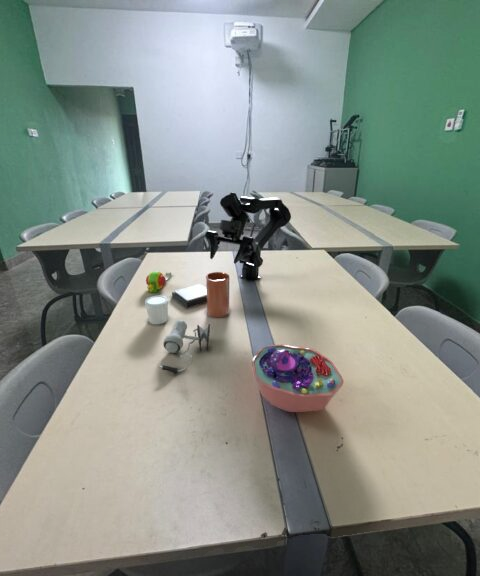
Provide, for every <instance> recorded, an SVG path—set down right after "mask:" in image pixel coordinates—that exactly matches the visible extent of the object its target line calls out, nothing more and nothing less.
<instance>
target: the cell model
mask: <svg viewBox="0 0 480 576" xmlns="http://www.w3.org/2000/svg"><path fill="white" fill-rule="evenodd" d="M251 367H252V376H253V377H254V380H256V384H257V387H258V390H259V393H260V394H261V395H262V396H263V398H264V399H265V400H266V401H267V403H269V404H270V405H271V406H273V407H276V408H278V409H280V410H283V411H285V412H289V413H306V412H307V413H308V412H317V411H322V410H324V409H326V407H327V406H328V405H329V403H330V402H331V400H332V399H333V398H334V397H335V396H336V395H337V393H338V392H339V391H340V390H341V388H342V387H343V385H344V379H343V376H342V374H341V373H340V372H339V369H338V368H337V367H336V366H335V364H334V362H333V361H332V360H331V359H329V358H328V357H327V356H325V355H323V354H322V353H320V352H319V351H317V350H315V349H313V348H310V347H303V346H302V347H300V346H292V345H287V344H273V345H268V346H264V347H262V348H260V349H259V350H258V351H257V352H256V353H255V355H254V356H253V357H252V359H251Z"/></svg>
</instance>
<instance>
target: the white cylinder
mask: <svg viewBox="0 0 480 576" xmlns="http://www.w3.org/2000/svg"><path fill="white" fill-rule="evenodd" d="M144 305H145V309H146V313H147V317H148V322H149V324H151V325H162V324H165V323H167V322H168V319H169V299H168V297H167V296H164V295H153V296H150V297H147V298H145V299H144Z"/></svg>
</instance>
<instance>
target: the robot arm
mask: <svg viewBox="0 0 480 576" xmlns="http://www.w3.org/2000/svg"><path fill="white" fill-rule="evenodd" d="M219 204H220V206H221V208H222V209H223V211H224V212H225V213H226V215H227V216H228V217H229V218H231V219H230V220H226V219H221V220H220V224H219V227H218V228H219V230H221V234H222V235H220V234H219V233H218V231H214V230H206V232H205V234H204V238H205V239H206V242H207V243H208V244H209V246H210V248H209V249H210V250H209V251H210V253H209V259H210V260H213V259H214V257H215V256H216V254H217V251H218V250H219V248H220V246H219V245H220V244H221V243H226V244H232V245H236V246H239V247H238V251H237V252H236V254H235V257H234V259H233V264H237V263H238V262H239V264H242V268H241V275H240V276H239V277H240V278H242V279H244V280H245V281H248V282H252V281H256V280H259V279H261V278H262V277H261V276H260V275H259V269H260V267H262V266H263V263H264V259H263V258H262V257H261V256H262V255H261V254H262V249H263V248H264V247H265V245H266V244H267V243H268V241H270V239H271V238H272V236H274V234H275V233H276V232H277V231H278V229H280V228H282V227H285V226H286V225H287V224H288V223H290V221H291V219H292V214H291V212H290V209H289V207H287V206H286V205H285V204H284V202H283V200H282V199H281V198H278V197H268V198H267V197H266V198H256V197H249V196H240V197H238V195H237V193H236V192H232V191H231V192H229V194H226V195H225V196H223V197H222V198H221V199H220V201H219ZM262 210H268V214H269V221H268V222H267V224H266V225H265V226H264V227H263V228H262V229H261V230H260V231H259V233H258V234H257V235H256V236H255V237H253V236H246V235H244V234H245V232H244V231H245V228H246V224H250V223H251V219H250V217H249V216H250V215H248V214H253V215H254V214H256V213H260V211H262Z"/></svg>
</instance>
